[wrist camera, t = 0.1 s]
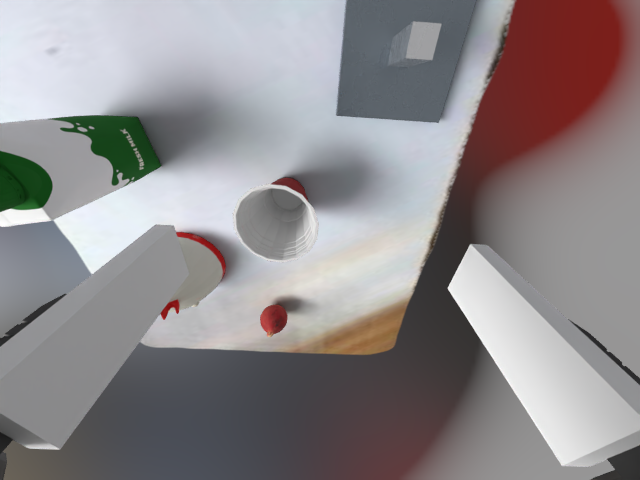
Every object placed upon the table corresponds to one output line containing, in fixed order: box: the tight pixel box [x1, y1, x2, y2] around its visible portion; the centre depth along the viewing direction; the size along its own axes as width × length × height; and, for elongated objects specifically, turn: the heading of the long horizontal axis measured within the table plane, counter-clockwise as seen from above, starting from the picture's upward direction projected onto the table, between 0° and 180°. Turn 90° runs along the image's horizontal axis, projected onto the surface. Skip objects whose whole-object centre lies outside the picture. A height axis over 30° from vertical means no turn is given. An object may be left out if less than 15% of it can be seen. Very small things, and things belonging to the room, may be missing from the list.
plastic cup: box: [233, 178, 319, 262], centre depth 33 cm, size 11×11×12 cm
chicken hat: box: [159, 232, 226, 320], centre depth 40 cm, size 14×14×15 cm
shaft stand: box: [336, 0, 476, 123], centre depth 25 cm, size 14×14×8 cm
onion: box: [260, 305, 287, 337], centre depth 50 cm, size 6×6×8 cm
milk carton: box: [0, 115, 161, 227], centre depth 26 cm, size 9×9×20 cm
